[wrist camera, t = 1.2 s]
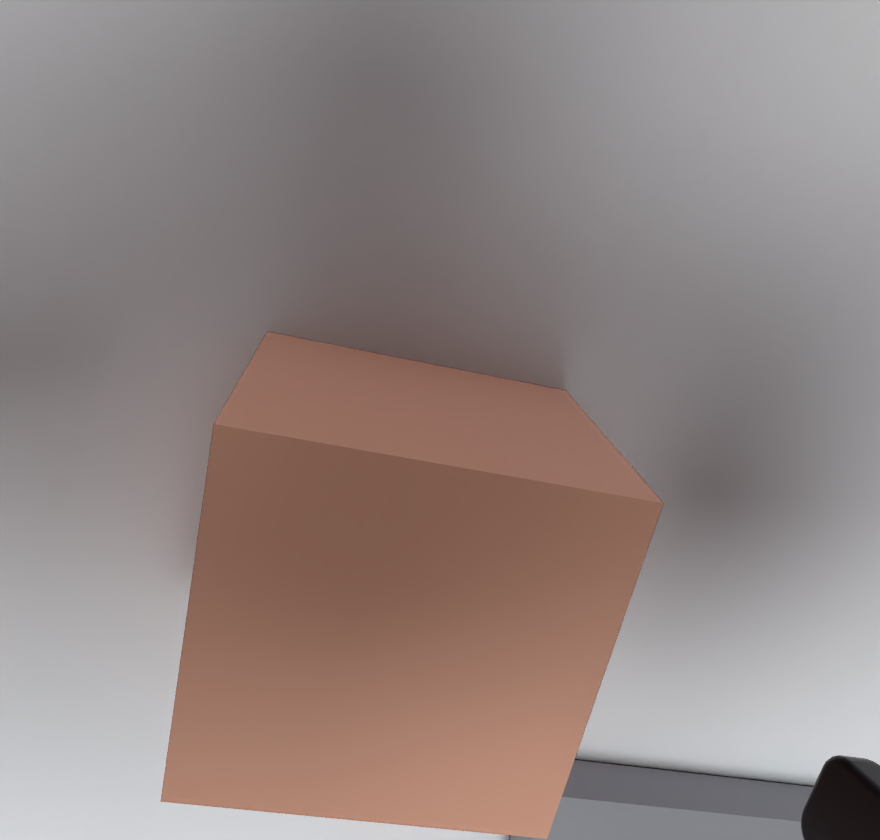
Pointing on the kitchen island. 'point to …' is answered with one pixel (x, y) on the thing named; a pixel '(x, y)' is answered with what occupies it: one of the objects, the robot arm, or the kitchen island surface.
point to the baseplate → (673, 806)
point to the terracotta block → (400, 593)
